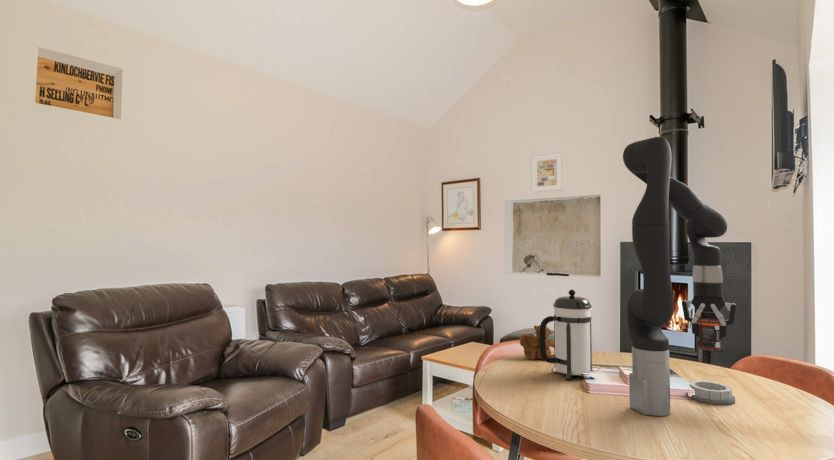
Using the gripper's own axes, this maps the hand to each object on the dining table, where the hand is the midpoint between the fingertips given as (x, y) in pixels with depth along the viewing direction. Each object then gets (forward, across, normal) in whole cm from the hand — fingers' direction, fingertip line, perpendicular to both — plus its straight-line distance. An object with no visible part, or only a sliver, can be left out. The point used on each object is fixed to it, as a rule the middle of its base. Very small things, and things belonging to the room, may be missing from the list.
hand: (709, 336), depth 135 cm
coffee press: (+18, -41, -1) cm, 45 cm away
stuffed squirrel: (+18, -59, +16) cm, 64 cm away
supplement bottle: (+4, 0, 0) cm, 4 cm away
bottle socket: (+18, 0, 0) cm, 18 cm away
